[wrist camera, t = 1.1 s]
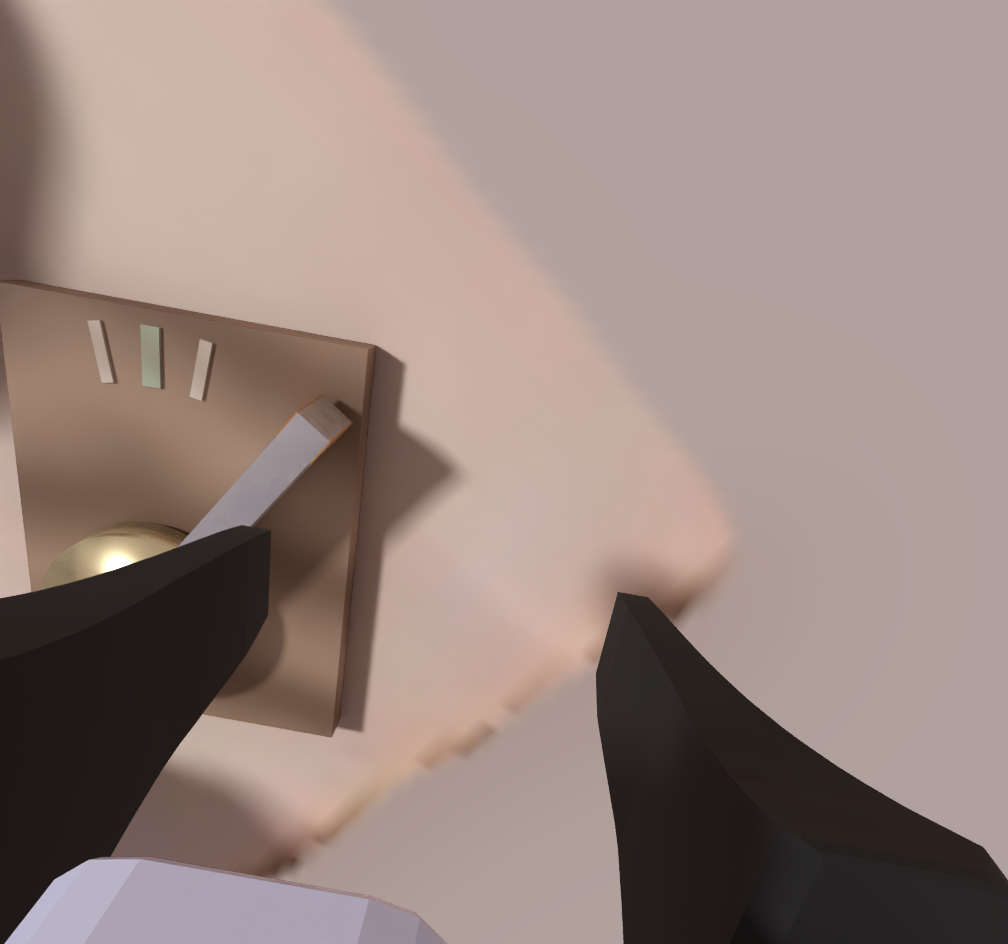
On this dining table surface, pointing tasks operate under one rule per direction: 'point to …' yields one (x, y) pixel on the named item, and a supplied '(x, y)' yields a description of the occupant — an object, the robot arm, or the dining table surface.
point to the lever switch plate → (193, 462)
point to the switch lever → (237, 507)
